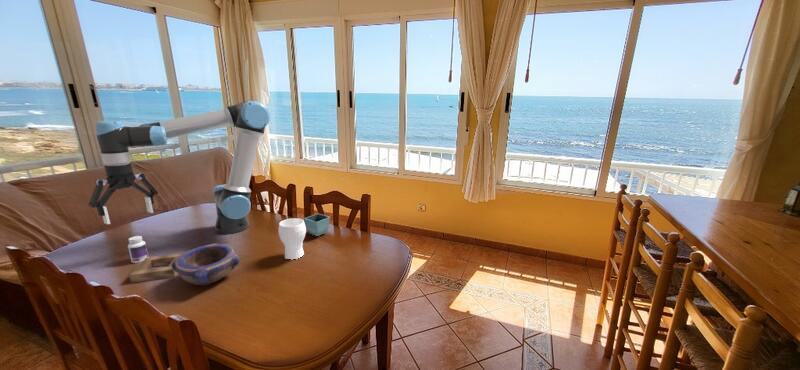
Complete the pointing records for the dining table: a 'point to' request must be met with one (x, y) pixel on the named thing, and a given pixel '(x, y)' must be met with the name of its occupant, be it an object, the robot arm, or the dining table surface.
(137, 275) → the brown square frame
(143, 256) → the pill bottle
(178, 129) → the robot arm
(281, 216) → the dining table surface
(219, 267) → the bowl
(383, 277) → the dining table surface
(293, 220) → the cup
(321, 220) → the flower pot
